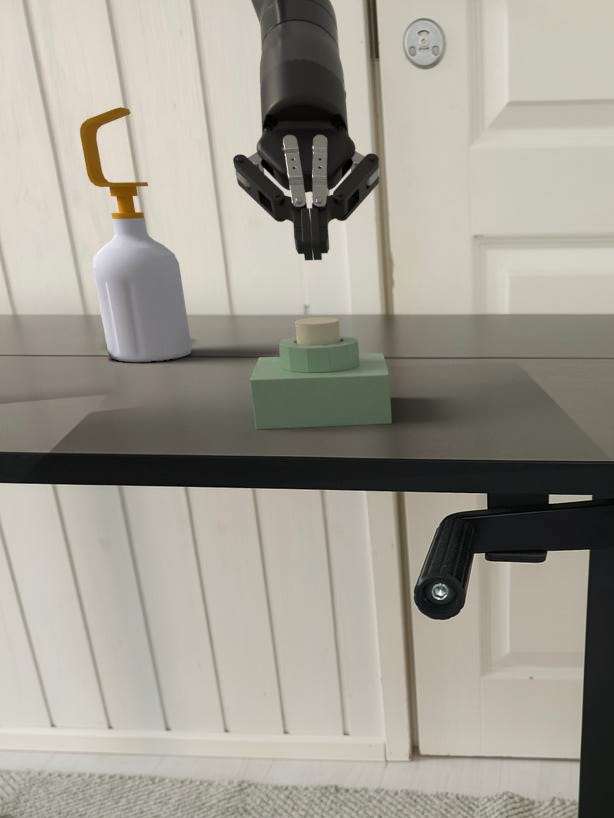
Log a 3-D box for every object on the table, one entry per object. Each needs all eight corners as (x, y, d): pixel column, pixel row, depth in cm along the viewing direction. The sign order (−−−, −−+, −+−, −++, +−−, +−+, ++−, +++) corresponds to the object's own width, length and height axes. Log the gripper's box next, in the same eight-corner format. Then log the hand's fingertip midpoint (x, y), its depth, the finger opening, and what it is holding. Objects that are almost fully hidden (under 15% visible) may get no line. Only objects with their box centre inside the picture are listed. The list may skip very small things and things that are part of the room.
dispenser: (255, 430, 74) (246, 353, 71) (264, 402, 83) (255, 333, 80) (391, 424, 75) (387, 348, 72) (385, 397, 84) (381, 329, 81)
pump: (296, 350, 75) (293, 324, 74) (298, 343, 78) (295, 318, 77) (341, 349, 75) (339, 322, 74) (340, 341, 78) (338, 316, 77)
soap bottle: (183, 362, 101) (143, 105, 90) (99, 364, 100) (48, 105, 89) (199, 348, 109) (165, 110, 98) (122, 350, 108) (78, 111, 97)
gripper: (220, 56, 77) (224, 221, 72) (376, 56, 79) (391, 218, 74) (234, 130, 84) (239, 286, 79) (377, 129, 86) (391, 282, 81)
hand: (312, 253), depth 76 cm, fingers closed
